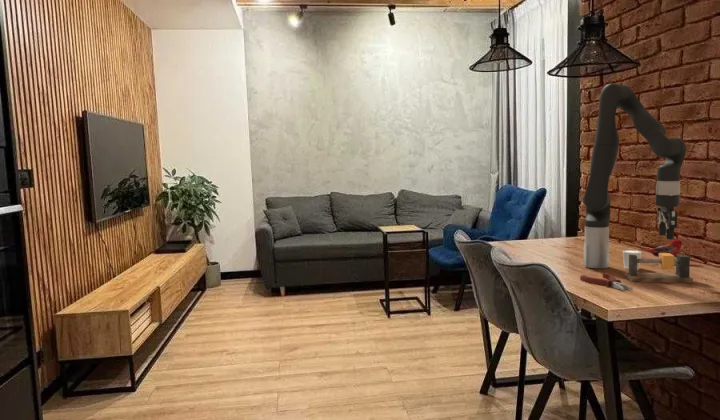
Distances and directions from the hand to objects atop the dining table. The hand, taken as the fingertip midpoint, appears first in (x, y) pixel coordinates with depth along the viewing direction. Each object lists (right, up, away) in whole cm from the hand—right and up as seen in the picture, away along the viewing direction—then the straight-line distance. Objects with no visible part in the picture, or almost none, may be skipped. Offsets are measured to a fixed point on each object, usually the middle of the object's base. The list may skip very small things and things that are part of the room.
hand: (665, 237), depth 179 cm
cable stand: (-1, -16, +2) cm, 16 cm away
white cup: (0, -14, +22) cm, 26 cm away
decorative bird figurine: (+17, -13, +30) cm, 36 cm away
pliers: (-23, -18, -1) cm, 29 cm away
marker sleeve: (+1, -11, +1) cm, 12 cm away
